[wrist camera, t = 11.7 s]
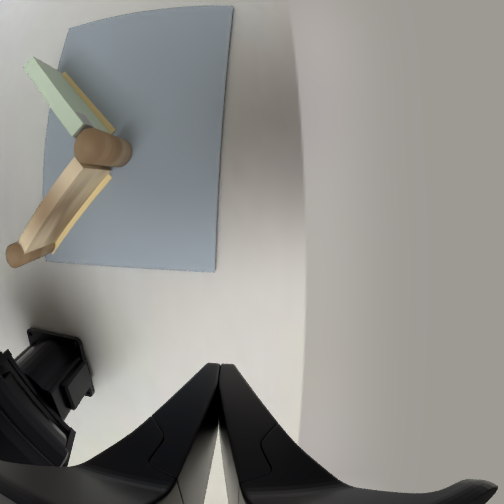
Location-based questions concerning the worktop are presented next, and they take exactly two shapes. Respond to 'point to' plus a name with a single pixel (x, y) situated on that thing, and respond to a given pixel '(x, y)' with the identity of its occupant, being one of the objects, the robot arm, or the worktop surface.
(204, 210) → the board
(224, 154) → the worktop surface
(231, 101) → the worktop surface
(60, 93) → the fence panel
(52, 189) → the wooden wall with posts
